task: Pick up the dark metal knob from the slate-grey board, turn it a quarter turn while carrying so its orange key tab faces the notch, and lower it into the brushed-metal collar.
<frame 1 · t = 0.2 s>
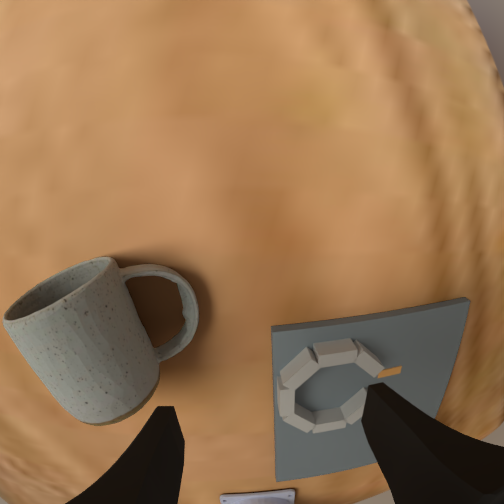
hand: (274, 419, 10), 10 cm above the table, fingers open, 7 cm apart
hub board: (367, 404, 23), on the table
ceramic mug: (120, 305, 20), on the table
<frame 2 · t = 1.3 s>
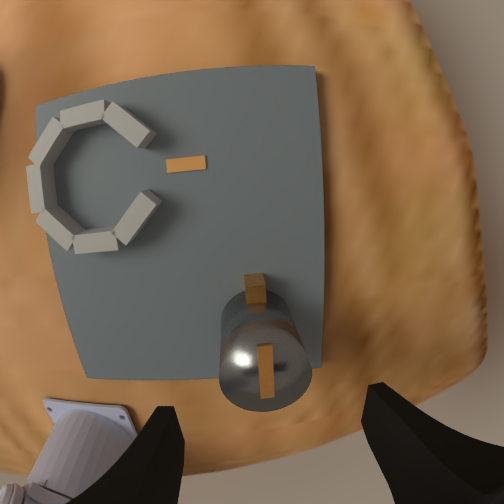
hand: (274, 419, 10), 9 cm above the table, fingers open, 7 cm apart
knob: (256, 320, 18), point 1 cm above the table, touching hub board
hub board: (177, 238, 17), on the table
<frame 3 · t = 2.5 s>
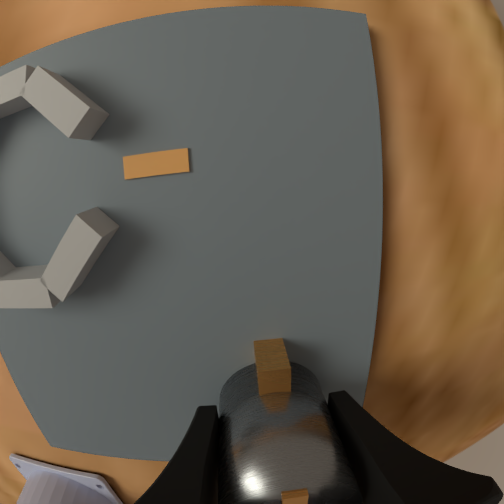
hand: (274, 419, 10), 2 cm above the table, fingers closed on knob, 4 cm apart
knob: (270, 400, 12), point 1 cm above the table, touching gripper, hub board
hub board: (148, 283, 11), on the table
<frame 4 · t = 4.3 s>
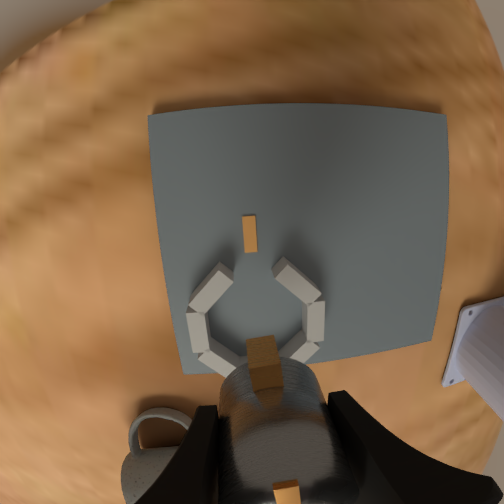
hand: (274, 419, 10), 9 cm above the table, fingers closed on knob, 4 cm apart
knob: (269, 396, 12), point 8 cm above the table, touching gripper
hub board: (318, 242, 19), on the table
ceramic mug: (179, 444, 23), on the table
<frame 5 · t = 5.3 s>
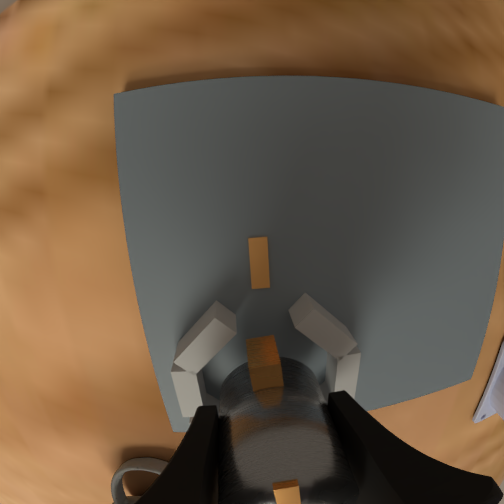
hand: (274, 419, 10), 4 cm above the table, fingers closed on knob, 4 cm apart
knob: (269, 396, 12), point 3 cm above the table, touching gripper
hub board: (350, 271, 13), on the table
ceramic mug: (172, 491, 18), on the table
when the fingers open (3 cm above the table, at t = 6.0 s): knob stays where it is, resting on hub board.
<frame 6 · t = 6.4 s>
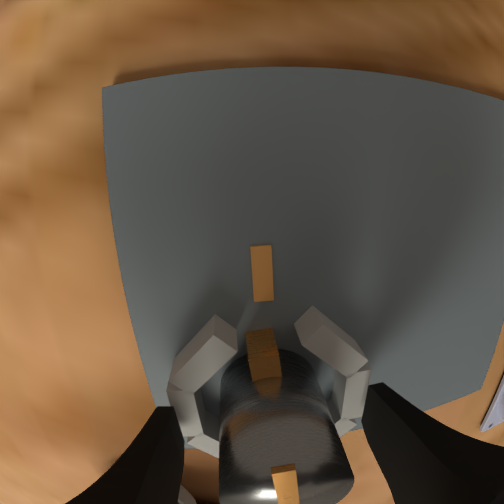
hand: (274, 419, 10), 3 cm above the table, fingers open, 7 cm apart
knob: (268, 387, 12), point 1 cm above the table, touching hub board
hub board: (361, 281, 12), on the table
ceramic mug: (168, 501, 17), on the table
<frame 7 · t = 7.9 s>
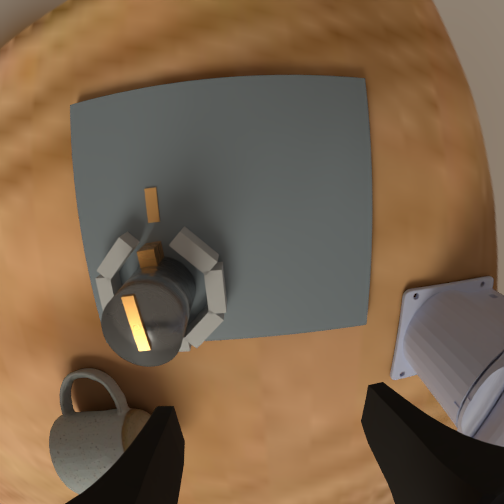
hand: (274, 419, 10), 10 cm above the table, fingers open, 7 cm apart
knob: (163, 287, 19), point 1 cm above the table, touching hub board
hub board: (222, 213, 19), on the table
ceramic mug: (113, 411, 23), on the table
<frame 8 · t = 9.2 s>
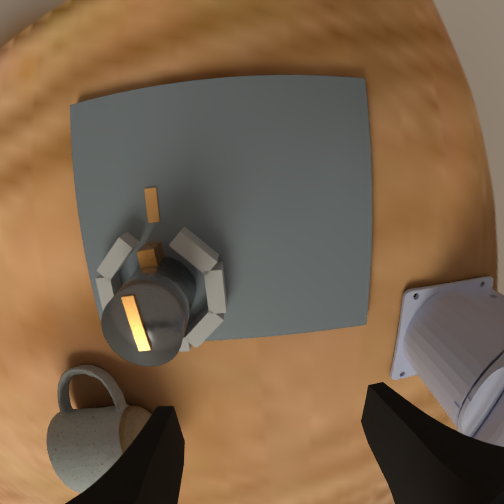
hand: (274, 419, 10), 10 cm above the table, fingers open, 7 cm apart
knob: (163, 287, 19), point 1 cm above the table, touching hub board
hub board: (222, 213, 19), on the table
ceramic mug: (111, 408, 23), on the table
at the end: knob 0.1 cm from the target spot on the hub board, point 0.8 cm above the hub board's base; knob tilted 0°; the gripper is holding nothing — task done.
